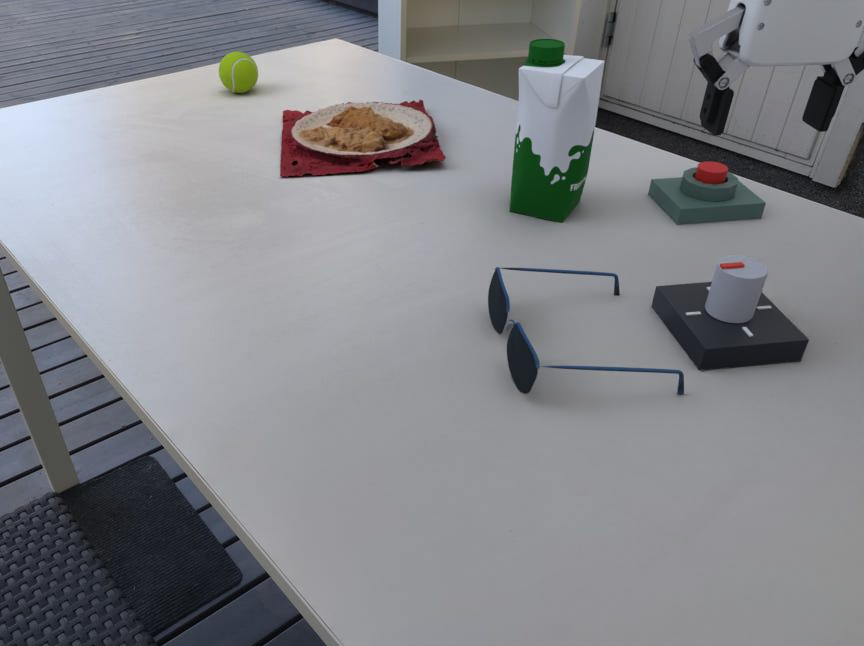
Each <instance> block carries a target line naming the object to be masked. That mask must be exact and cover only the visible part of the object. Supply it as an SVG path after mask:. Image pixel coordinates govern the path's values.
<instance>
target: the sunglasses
mask: <svg viewBox="0 0 864 646" xmlns="http://www.w3.org/2000/svg"><path fill="white" fill-rule="evenodd" d="M501 270H509V271H519V272H533V273H535V272H536V273H548V274H549V273H550V274H551V273H552V274H568V275H570V274H571V275H585V276H601V277H613V278H614V286H613V296H620V295H621V294H620V281H619V276H618V274H616V273H614V272H604V271H591V270H590V271H588V270H573V269H572V270H571V269H555V268H553V269H552V268H534V267H533V268H532V267H499V266H496V267H495V268H494V272H493V274H492V277H491V280H490V282H489V283H490V284H489V288H488V293H487V305H488V306H487V307H488V314H489V319H490V322H491V325H492V328H493V330H494V331H495V333H497V334H498V335H502V333H503V332H504V331H505V332H506V333H508V332H509V334H508V337H507V342H506V359H507V365H508V369H509V373H510V376H511V379H512V381H513V384H514V385H515V387H516V389H517V391H518V392H520V393H521V394H525V395H527V394H529V393H530V392H531V390H532V389H533V386H534V384H535V382H536V380H537V377H538V373H539V369H541V367H542V368H549V369H558V370H559V369H563V370H577V371H598V372H599V371H601V372H626V373H654V374H672V375H673V374H676V375H678V382H677V383H678V384H677V391H676V393H677V395H684V394H685V374H684V372H683V371H682V370H681V369H671V368H650V367H629V366H628V367H627V366H626V367H623V366H600V365H599V366H596V365H594V366H593V365H540V359H539V356H538V354H537V352H536V349H535V348H534V347H533V344H532V343H531V341H530V339H529V337H528V336H527V334H526V333H525V330H524V328H523V326H522V324H521V322H519V321H516V322H515V320H514V319H513V318H512V319H509V320H508V317H509V313H510V310H511V309H510V308H511V306H510V305H511V304H510V303H511V302H510V297H509V294H508V291H507V289H506V288H507V287H506V285H505V283H504V280H503V276H502V272H501ZM507 322H511V323H508V324H507Z"/></svg>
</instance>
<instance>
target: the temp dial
mask: <svg viewBox="0 0 864 646" xmlns="http://www.w3.org/2000/svg"><path fill="white" fill-rule="evenodd" d="M768 274H769V268H768V266H767V265H766V264H765V263H764V262H763V261H761V260H759V259H757V258H754V257H751V256H747V255H742V254H728V255H723V256H722V257H720V258H719V259H718V260H717V264H716V266H715V270H714V273H713V277H712V281H711V282H712V283H711V287H710V290H709V294H708V297H707V301H706V304H705V309H706V311H707V313H708V314H709V315H711V316H712V317H714V318H716V319H718V320H720V321H724V322H728V323H745V322H748V321H750V320H751V319H752V318H753V315H754V312H755V309H756V307H757V304H758V301H759V298H760V295H761V292H762V293H763V288H764V286H765V283H766V280H767V277H768Z"/></svg>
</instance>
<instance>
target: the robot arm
mask: <svg viewBox="0 0 864 646" xmlns="http://www.w3.org/2000/svg"><path fill="white" fill-rule="evenodd" d="M862 32H863V33H864V0H730V1H729V5H728V8H727V11H726V12H724V13H722V14H720V15H718V16H716V17H715V18H713V19H711V20H708V21H707V22H705V23H703V24H701V25H699V26H697V27H695V28H694V29H692V30H691V31H689V34H688V41H689V45H690V49H691V53H692V55H693V63H694V65H695V66H696V68H697V69H698V70H699V72H700V74H701V75H702V77H703V79H704V80H705V81H706V83H707V84H706V88H705V91H704V96H703V100H702V104H701V107H700V111H699V120H700V126H701V127H702V128H704V129H705V130H706V131H707V132H708V133H710V135H712V136H721V135H722V134H724V132H725V128H726V125H727V120H728V118H729V113H730V110H731V106H732V103H733V99H734V96H735V92H734V90H733V89H731V88H730V87H731V85H732V84H733V83H734V82H735V81H736V80H737V79H738V78H739V77H740V76H741V75H742V74H744V72H746V71H747V70H748V69H749V68H750V67H762V68H763V67H797V66H820V68H821V71H822V72H823V75H821V76H820V75H819V76H816V79H815V80H814V81H813V84H812V87H811V91H810V93H809V97H808V99H807V102H806V105H805V108H804V111H803V114H802V118H801V120H802V122H804V123H805V124H806V125H808V126H809V127H811V128H813V129H815V130H816V131H817V132H819V133H825V132H828V130H829V128H830V125H831V122H832V120H833V118H834V117H835V115H836V112H837V109H838V107H839V104H840V101H841V99H842V96H843V93H844V90H845V87H848V86H851V85H852V84H853V83H855V80H856V79H857V76H858V75H859V74H860V73H861V72H862V71H864V38H863V39H862V40H861V41H860V44H859V46H857V45H858V42H859V40H860V38H861V35H862ZM718 39H719V42H718V47H719V49H720V50H721V51H722V53H721V54H720V55H719V56H718V57H717V58H715V56H714V54H713V44H714V42H715V41H716V40H718Z"/></svg>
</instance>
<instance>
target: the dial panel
mask: <svg viewBox="0 0 864 646" xmlns="http://www.w3.org/2000/svg"><path fill="white" fill-rule="evenodd" d="M711 283H712V281H702V282H691V283H679V284H667V285H656V286H655V289H654V293H653V298H652V302H651V306H650V307H651V308H652V309H653V310H654V312H655V313H656V314H657V316H658V318H659V319H660V320H661V321H662V323H663V324H664V326H665V327H666V328H667V329H668V331H669V332H670V333H671V335H672V336H673V338H674V339H675V340H676V342H677V343H678V344H679V345H680V347H681V348H682V349H683V351H684V352H685V353H686V355H687V356H688V358H689V359H690V361H691V362H692V363H693V364H694V366H695V367H696V368H697V369H698V371H707V370H718V369H729V368H742V367H749V366H750V367H752V366H762V365H774V364H784V363H795V362H801V361H802V359H803V356H804V354H805V351H806V350H807V346H808V344H809V341H810V339H809V338H808V337H807V336H806V335H805V334H804V332H802V331H801V330H800V328H798V327H797V325H795V323H793V321H791V320H790V319H789V318H788V317H787V316H786V315H785V313H784V312H782V311H781V309H779V307H777V306H776V305H775V303H774V302H773V301H771V299H770V298H768V296H766V295H765V293H763V291H762V292H761V295H760V298H759V301H758V304H757V307H756V309H755V312H754V315H753V318H752V319H751V320H750V321H748V322H745V323H728V322H724V321H720V320H718V319H716V318H714V317H712V316H711V315H709V314H708V313H707V311H706V309H705V304H706V301H707V297H708V294H709V290H710V287H711Z"/></svg>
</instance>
